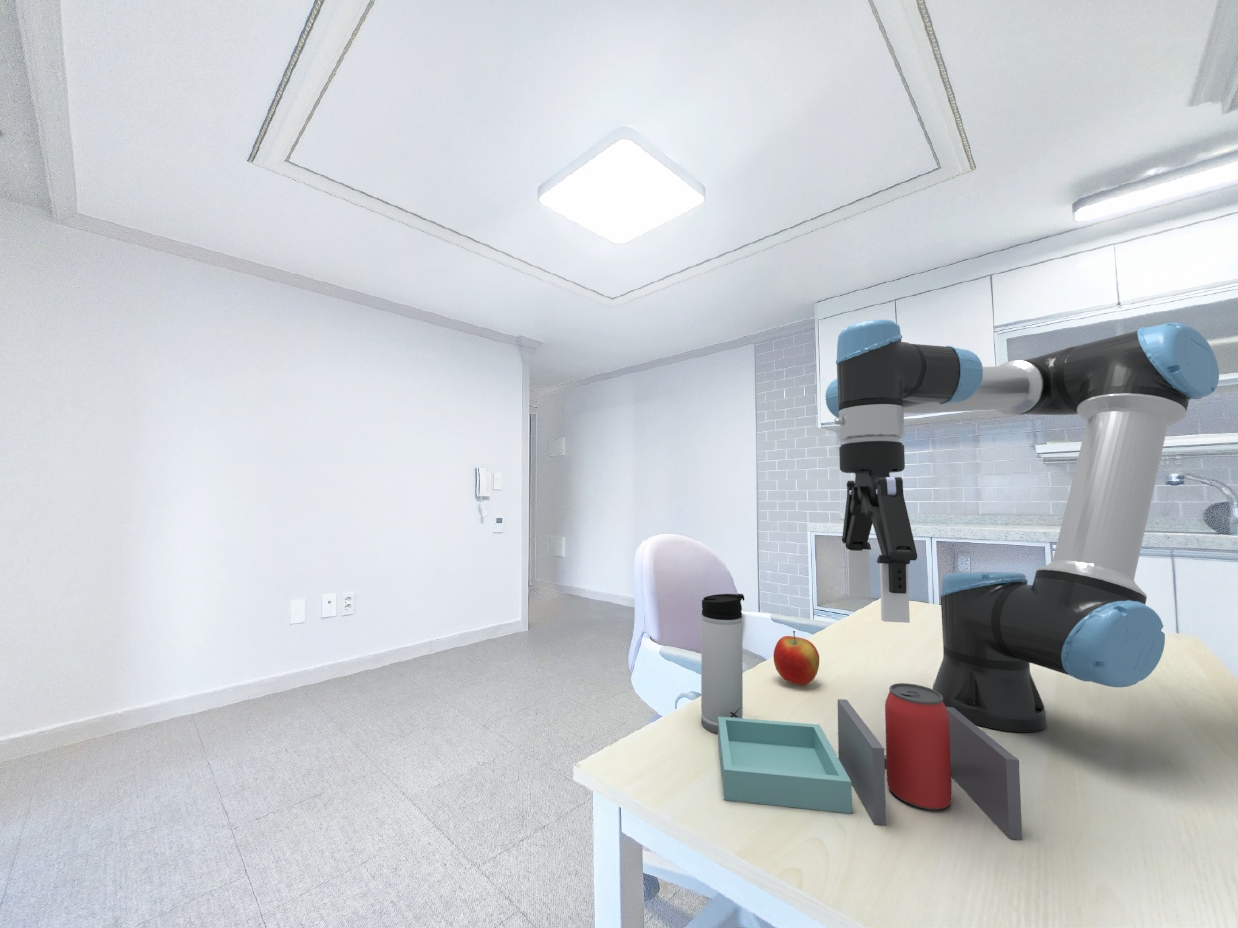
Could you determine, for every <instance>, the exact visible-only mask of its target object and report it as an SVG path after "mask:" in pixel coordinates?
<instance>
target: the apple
mask: <svg viewBox="0 0 1238 928" xmlns="http://www.w3.org/2000/svg"><path fill="white" fill-rule="evenodd" d="M795 632H796V631H795V630H793V631H792V633H793V636H791V635H786V636H785V635H784V636H782V637H781V638H780V639H779V640H778V641H777V642H776V644H775V646H774V649H773V650H774V651H773V663H774V666H775V670H776V671H777V674H778V675H779V676H780V677H781V678H782V679H783V680H785V681H787V682H788V683H790V684H793V685H796V686H801V687H803V686H807V685H809V684H810V683H812V682H813V681H814V679H815V678H816V676H817V674H818V671H819V668H820V654H819V651H818V650H817V648H816V646H815V645H814V644H813V642H812V641H810V640H809V639H806V638H803V637H798V636H796V635H795Z"/></svg>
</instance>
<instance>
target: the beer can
mask: <svg viewBox="0 0 1238 928" xmlns="http://www.w3.org/2000/svg"><path fill="white" fill-rule="evenodd" d="M888 690H889V692H888V694H887V697H886V699H885V703H884V712H885V716H884V717H885V719H884V720H885V721H884V722H885V725H884V726H885V755H886V767H887V768H886V783H887V787H888V788H889V790H890V791H891V792H892V793H893V795H895V797H897V798H898V799H900V800H901V801H903V802H905V803H907V804H909V805H911V806H914V807H917V808H920V809H924V810H932V811H937V810H942V809H946V808H948V807H949V806H950V805H951V803H952V799H953V798H952V777H951V761H950V730H949V716H948V712H947V709H946V707H945V705H944V703H943V697H942V695H941V694H940V693H938V692H937V691H935V690H933V688H930V687H927V686H923V685H920V684H916V683H915V684H914V683H907V682H906V683H904V682H901V683H900V682H899V683H894V684H891V685H890V686H889V688H888Z"/></svg>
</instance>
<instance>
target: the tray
mask: <svg viewBox="0 0 1238 928" xmlns="http://www.w3.org/2000/svg"><path fill="white" fill-rule="evenodd" d="M717 744H718V753H719V762H720V763H719V764H720V771H721V782H722V792H723V800H724V801H731V802H732V801H733V802H740V803H749V804H759V805H767V806H779V807H785V808H786V807H787V808H797V809H806V810H814V811H815V810H817V811H823V812H825V811H826V812H835V813H845V814H853V807H852V806H853V799H852V798H853V796H852V795H853V794H852V793H853V792H852V787H853V786H852V784H851V780H850V778H849V777H848V775H847V773H846V771H845V769H844V768H843V766H842V764H841V762H840V761H839V758H838V755H837V753H836V752H835V750H834V748H833V746H832V745H831V743H830V741H829V739H828V738H827V735H826V733H825V731H824V730H823V728H822V727H821V725H820V724H817V723H806V722H805V723H804V722H792V721H783V720H782V721H780V720H779V721H778V720H767V719H754V718H732V717H719V716H718V733H717Z"/></svg>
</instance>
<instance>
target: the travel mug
mask: <svg viewBox="0 0 1238 928" xmlns="http://www.w3.org/2000/svg"><path fill="white" fill-rule="evenodd" d="M742 601H745V595H744V594H743V593H719V594H712V595H707V596H705V597H703V599H702V600H701V608H702V609H701V641H700V642H701V643H700V645H701V647H700V649H701V650H700V651H701V652H700V653H701V656H700V657H701V669H700V671H701V675H700V677H701V680H700V683H701V684H700V685H701V689H700V692H701V693H700V695H701V697H700V698H701V700H700V702H701V705H700V706H701V707H700V710H701V711H700V712H701V715H700V718H701V720H700V722H701V725H702V727H703V728H705V729H706V730H707V731H709V732H712V733H715V734H718V716H719V717H732V718H743V716H744V715H743V713H744V712H743V710H744V707H743V703H744V702H743V691H744V690H743V689H744V688H743V612H742V610H743V608H742Z"/></svg>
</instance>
